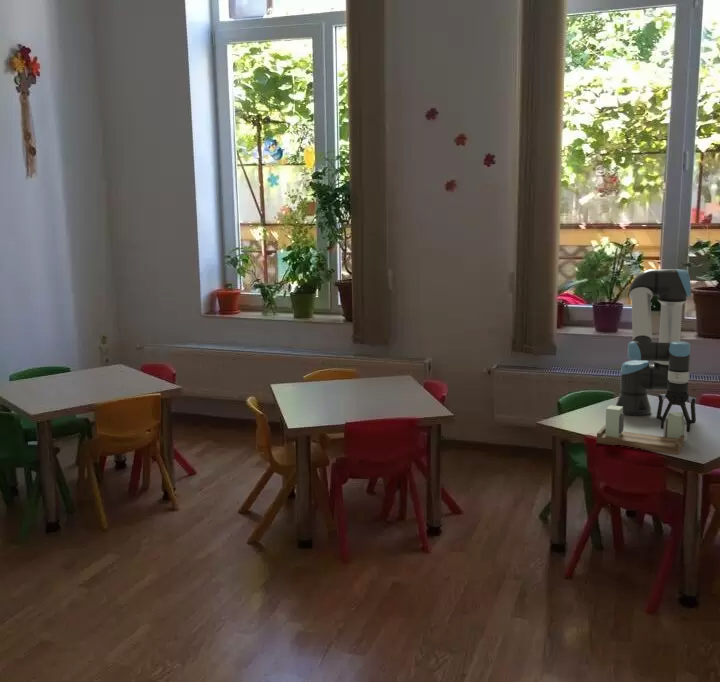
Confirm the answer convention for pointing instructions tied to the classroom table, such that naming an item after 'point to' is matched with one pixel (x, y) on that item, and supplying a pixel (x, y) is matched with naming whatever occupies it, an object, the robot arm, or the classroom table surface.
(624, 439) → the rail
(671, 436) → the block
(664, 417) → the robot arm
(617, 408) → the fixed block
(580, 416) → the classroom table surface
